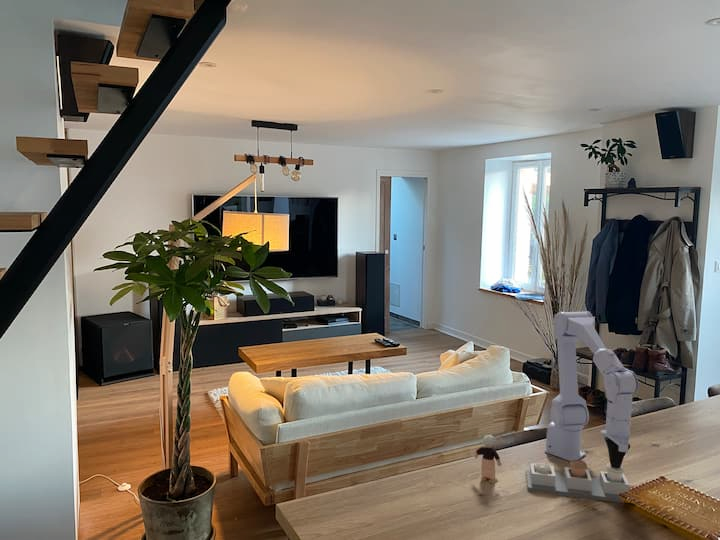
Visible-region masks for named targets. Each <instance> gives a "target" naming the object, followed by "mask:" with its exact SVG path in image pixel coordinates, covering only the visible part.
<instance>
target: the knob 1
mask: <svg viewBox="0 0 720 540" xmlns="http://www.w3.org/2000/svg"><path fill="white" fill-rule="evenodd" d="M535 464H536V465H535V469H536V473H545V474H550V470H551V467H550V466H549V464H547V463H543V462H539V463H535Z"/></svg>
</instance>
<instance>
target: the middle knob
mask: <svg viewBox="0 0 720 540" xmlns="http://www.w3.org/2000/svg"><path fill="white" fill-rule="evenodd" d="M587 465H588V464H587V462H586V461H584V460H581V459H578V460H576V459H575V460H571V461H570V468H571V476H573V477H578V478H585V472H586V470H587V467H588V466H587Z"/></svg>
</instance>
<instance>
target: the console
mask: <svg viewBox="0 0 720 540" xmlns="http://www.w3.org/2000/svg"><path fill="white" fill-rule="evenodd" d="M536 464H537V463H533V462H532V463H530V464H529V465H530V466H529V469H525V478H526V486H527V487H526V488H527V491H528V492H534V493H542V494H543V493H544V494H550V495H558V496H567V497H574V498H583V499H589V500H591V499H592V500H598V501H604V502H605V501H607V502H614V503H621V504H623V503H622V502H623V501H622V499H621V498H620V497H619V494H620V493H624V492H627V491H629V489H630V487H631V486H630V484H629V483H630V482H629V481H628V479H627V477H626V475H625V473H622V482H621V483H620V482H612V481H608V480H607V471H601V470H600V471H599V477H592V476H591V474H590V470H589V469H586V472H585V478H578V477H573V476H571V467H568V466H564V472H563V473H559V472H555V467H554V465H549V464H548V465H549V466H550V467H551V470H550V474H545V473H536V469H535V465H536Z"/></svg>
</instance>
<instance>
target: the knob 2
mask: <svg viewBox="0 0 720 540" xmlns="http://www.w3.org/2000/svg"><path fill="white" fill-rule="evenodd" d="M606 470H607V471H606V472H607V480H608V481H612V482H620V483H621V482H622V474H623V473H624V467H623V466H622V465H621V467H620V468H615V467H611V464H610V463H607V464H606Z"/></svg>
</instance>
